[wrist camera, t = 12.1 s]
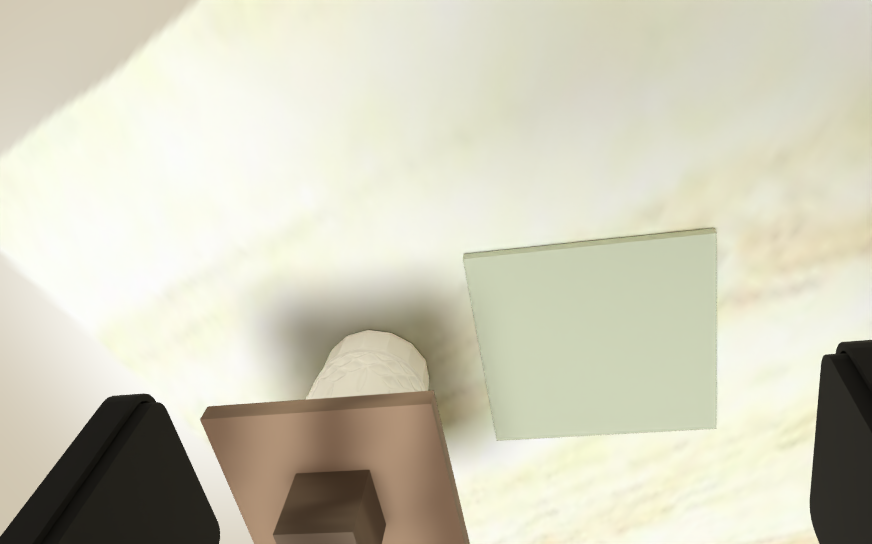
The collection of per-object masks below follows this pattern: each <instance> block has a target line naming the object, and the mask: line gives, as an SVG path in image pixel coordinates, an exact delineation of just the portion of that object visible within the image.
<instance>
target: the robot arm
mask: <svg viewBox="0 0 872 544" xmlns="http://www.w3.org/2000/svg"><path fill="white" fill-rule="evenodd" d="M810 514H811V520H812V524H813V527H814V530H815V533H816V536H817V538H818V541H819V543H820V544H872V340H864V341H851V342H841V343H840V344H839V345H838V347H837V349H836V354H828V355H824V356H823V358H822V363H821V373H820V384H819V396H818V408H817V420H816V432H815V444H814V456H813V468H812V480H811V492H810ZM219 541H220V528H219V524H218V521H217V519H216V517H215V515H214V513H213V510H212V508H211V506H210V504H209V502H208V500H207V497H206V495H205V493H204V491H203V489H202V486H201V484H200V482H199V480H198V478H197V475H196V473H195V471H194V469H193V467H192V464H191V462H190V460H189V458H188V456H187V454H186V451H185V449H184V447H183V445H182V443H181V440H180V438H179V436H178V434H177V432H176V430H175V427H174V425H173V423H172V421H171V419H170V416H169V414H168V412H167V410H166V408H165V406H164V405H163V404H161V403H158V402H156V401H155V399H154V398H153V397H152V396H150V395H149V394H132V395H119V396H112V397H109V398H107V399H106V400H105V401H104V402H103V403H102V404H101V406H100V407H99V408H98V410H97V411H96V412H95V414H94V415H93V416H92V417H91V419H90V420H89V421H88V423H87V424H86V425H85V427H84V428H83V429H82V431H81V432H80V433H79V434H78V436H77V437H76V438H75V440H74V441H73V442H72V444H71V445H70V446H69V447H68V449H67V450H66V451H65V453H64V454H63V456H62V457H61V458H60V459H59V461H58V462H57V463H56V465H55V466H54V467H53V469H52V470H51V471H50V472H49V474H48V475H47V476H46V478H45V479H44V480H43V482H42V483H41V484H40V485H39V487H38V488H37V490H36V491H35V492H34V494H33V495H32V496H31V497H30V498H29V500H28V501H27V502H26V504H25V505H24V507H23V508H22V509H21V510H20V512H19V513H18V514H17V516H16V517H15V518H14V519H13V521H12V522H11V523H10V525H9V526H8V527H7V529H6V530H5V531H4V533H3V534H2V535H1V536H0V544H219Z"/></svg>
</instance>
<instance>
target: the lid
mask: <svg viewBox="0 0 872 544" xmlns="http://www.w3.org/2000/svg"><path fill="white" fill-rule="evenodd" d="M200 420H201V423H202V425H203V427H204V429H205V432H206V434H207V436H208V439H209V441H210V443H211V446H212V448H213V450H214V452H215V455H216V457H217V459H218V462H219V464H220V466H221V468H222V471H223V473H224V475H225V478H226V480H227V482H228V485H229V487H230V489H231V491H232V494H233V496H234V498H235V501H236V503H237V505H238V507H239V510H240V512H241V514H242V517H243V519H244V521H245V524H246V526H247V528H248V530H249V533H250V535H251V537H252V540H253V542H254V544H470V543H469V539H468V534H467V530H466V526H465V522H464V517H463V513H462V509H461V505H460V500H459V496H458V492H457V488H456V483H455V479H454V475H453V471H452V466H451V462H450V458H449V454H448V449H447V445H446V441H445V437H444V432H443V428H442V424H441V419H440V415H439V411H438V407H437V402H436V398H435V394H434V390H432V391H418V392H404V393H390V394H376V395H363V396H349V397H335V398H321V399H307V400H293V401H279V402H265V403H251V404H237V405H223V406H209V407H207V409H206V410H205V412H204V414H203V416H202V417H201V419H200Z"/></svg>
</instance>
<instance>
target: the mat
mask: <svg viewBox="0 0 872 544" xmlns="http://www.w3.org/2000/svg"><path fill="white" fill-rule="evenodd" d="M463 262H464V268H465V273H466V278H467V284H468V289H469V294H470V300H471V305H472V310H473V316H474V321H475V326H476V332H477V337H478V342H479V348H480V353H481V358H482V364H483V369H484V374H485V380H486V385H487V390H488V396H489V401H490V407H491V412H492V417H493V423H494V428H495V433H496V439H497V441H501V440H520V439H538V438H556V437H574V436H592V435H611V434H629V433H647V432H665V431H683V430H701V429H716V231H715V229H714V228H711V229H701V230H691V231H682V232H672V233H663V234H653V235H643V236H634V237H624V238H614V239H605V240H595V241H586V242H576V243H566V244H557V245H547V246H537V247H528V248H518V249H508V250H499V251H489V252H480V253H470V254H464V256H463Z"/></svg>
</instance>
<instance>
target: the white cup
mask: <svg viewBox="0 0 872 544" xmlns="http://www.w3.org/2000/svg"><path fill="white" fill-rule="evenodd" d="M428 388H429V374H428V370H427V365H426V360H425V359H424V358H423V357H422V355H421V354H420V353H419V352H418V351H417V349H416V348H415V347H414V346H413V344H412V343H410V342H408V341H406V340H404V339H402V338H400V337H398V336H396V335H395V334H393V333H389V332H381V331H373V330H366V331H362V332H359V333H355V334H351V335H348V336H346V337H345V338H344V339H343V340H342V341H340V342H339V343H338V344H337V345H336V346H335V347H334V348H333V349H332V350H331V352H330V354H329V356H328V359H327V361H326V363H325V365H324V367H323V369H322V371H321V372H320V374H319V375H318V377H317V378H316V380H315V382H314V384H313V386H312V388H311V390H310V392H309V394H308V395H307V397H306V399H305V400H307V399H321V398H335V397H349V396H363V395H376V394H390V393H404V392H418V391H428Z"/></svg>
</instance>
